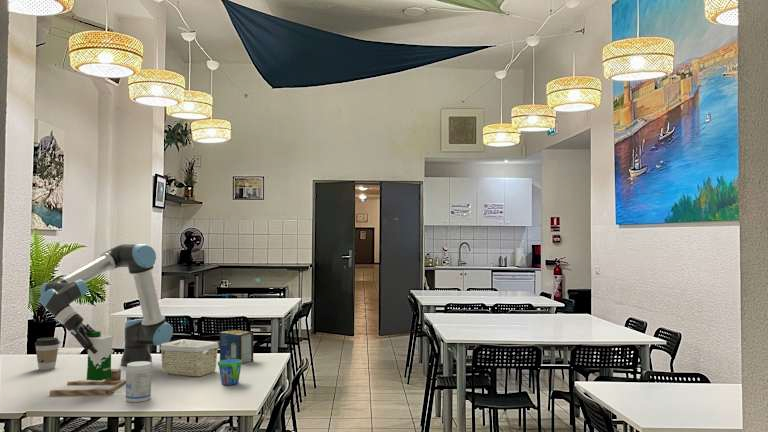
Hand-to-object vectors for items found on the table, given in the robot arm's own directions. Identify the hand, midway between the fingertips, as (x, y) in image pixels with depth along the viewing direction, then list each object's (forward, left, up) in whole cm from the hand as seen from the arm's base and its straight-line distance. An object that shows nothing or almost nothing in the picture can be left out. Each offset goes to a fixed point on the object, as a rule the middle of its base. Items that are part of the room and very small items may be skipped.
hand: (107, 355), depth 265 cm
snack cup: (-49, +16, -15) cm, 54 cm away
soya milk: (+3, -1, -10) cm, 10 cm away
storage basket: (-39, -17, -15) cm, 45 cm away
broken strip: (+1, -15, -15) cm, 21 cm away
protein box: (-67, -33, -15) cm, 76 cm away
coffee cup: (+21, -63, -15) cm, 68 cm away
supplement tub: (-9, +24, -15) cm, 30 cm away
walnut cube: (-4, -13, -14) cm, 19 cm away
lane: (+7, -4, -15) cm, 17 cm away
